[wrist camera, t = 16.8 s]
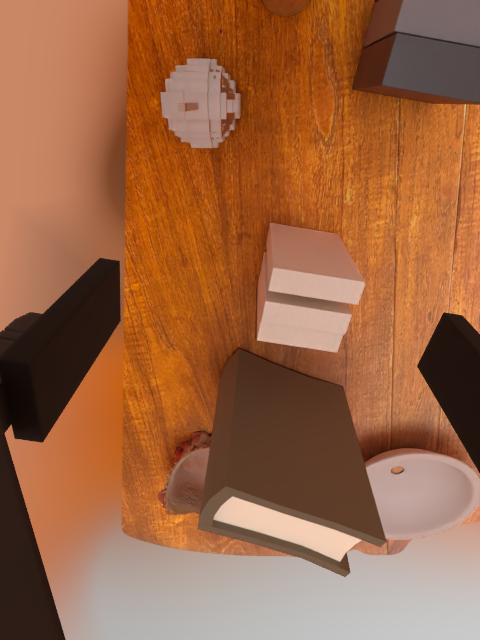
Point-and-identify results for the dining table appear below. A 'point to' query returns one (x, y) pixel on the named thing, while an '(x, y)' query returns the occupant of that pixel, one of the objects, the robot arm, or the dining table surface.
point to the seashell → (187, 476)
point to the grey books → (422, 51)
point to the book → (287, 466)
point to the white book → (311, 265)
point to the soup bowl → (421, 492)
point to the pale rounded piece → (201, 103)
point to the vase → (285, 6)
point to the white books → (298, 318)
